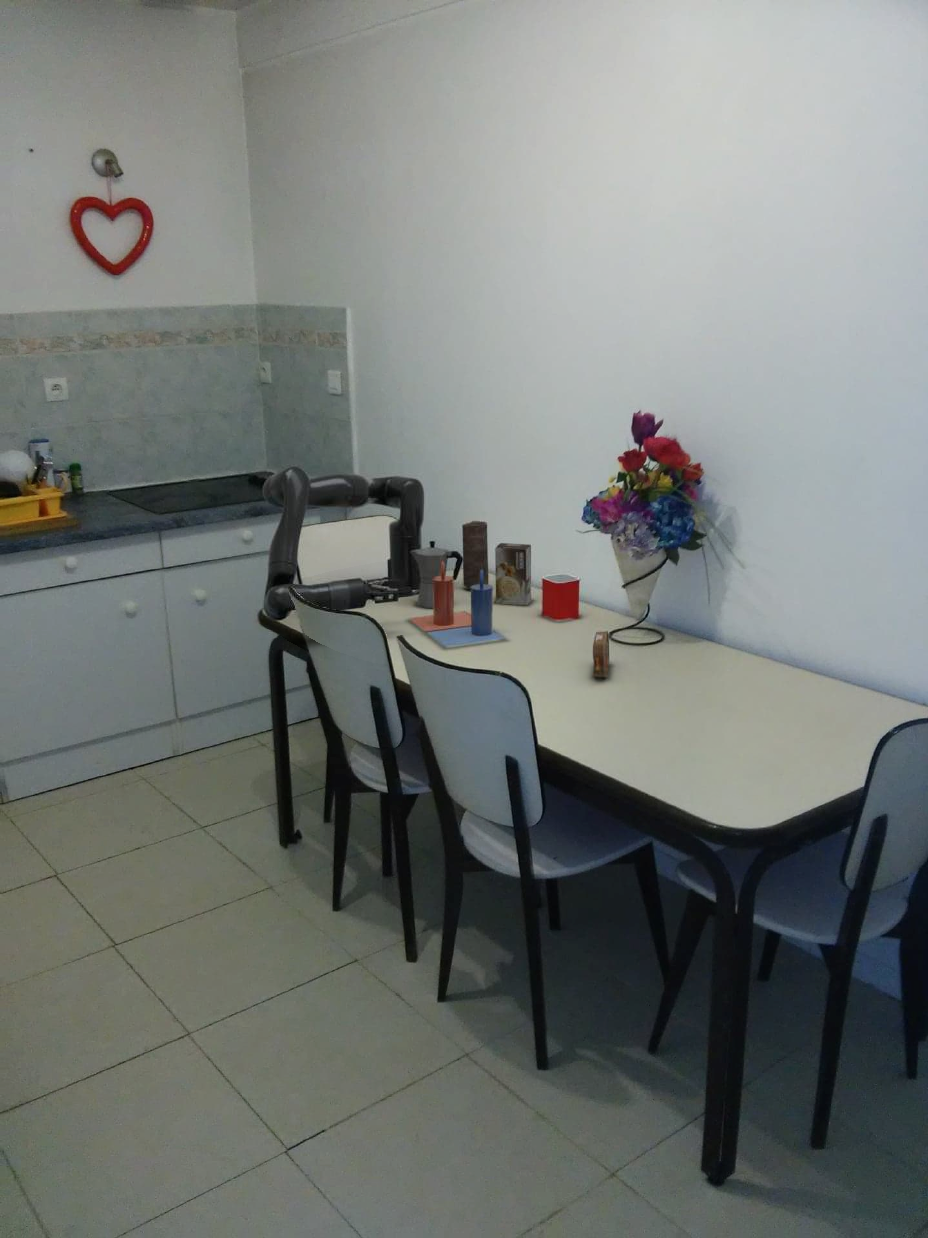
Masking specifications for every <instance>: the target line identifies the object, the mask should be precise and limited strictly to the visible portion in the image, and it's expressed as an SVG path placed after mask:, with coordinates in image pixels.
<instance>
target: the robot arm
mask: <svg viewBox="0 0 928 1238" xmlns="http://www.w3.org/2000/svg"><path fill="white" fill-rule="evenodd" d="M262 496H263V498H264V500H265V501H266V502H267V503H268V504H269V505H271V506H272V507H274V508H276V509H279V510H280V509H281V510H282V513H281V517H280V520H279V522H278V524H277V527H276V529H275V532H274V535H273V536H272V538H271V542H270V546H269V551H268V560H267V580H266V584H265V590H264V595H263V606H262V607H263V612H264V613H265V615H266V616H267V617H268V618H269V619H270V620H272V621H275V622H279V621H284V620H286V619H287V618H288V617H289V616H290V615H291V613H292V611H297V610H296V609H295V605H294V603H293V601H292V600H291V596H290V594H289V589H288V587H289V586H292V587H293V588H294V589H295V590H296V592H297V593H298V594H300V596H302V597H303V598H304V599H305V600H306V601H309V603H313V604H315V605H318V606H320V607H326V608H329V609H336V610H341V611H348V610H356V609H363V608H366V606H367V602H368V601H372V602H374V604H376V605H377V604H386V603H387V604H388V603H397V602H399V599H400V598H409V597H412V596H413V595H416V594H419V591H420V583H421V576H420V572H419V566H418V563H417V561H416V560H415V558H414V556H413V555H412V554H411V553H410V552H411V551H412V550H417V549H423V546H422V545H423V544H422V543H423V541H422V539H423V538H422V527H423V524H424V521H425V520H424V519H425V488H424V485H423V484H422V482H421V481H420V480H419V479H417V478H414V477H409V476H402V475H401V476H400V475H391V476H383V477H369V476H366V475H363V474H357V473H332V474H326V475H322V476H317V477H312V478H310V475H308V473H307V472H306V470H304V469H303V468H302V467H300V466H297V465H291V466H288V467H285V468H283V469H281V470H279V471H278V472H275V473H273V474H272V475H271V476H269V477H268V478H267V479H266V480H265V481H264V484H263V486H262ZM367 505H376V506H383V507H389V508H392V509H396V510H397V509H398V510H399V518H398V519H397V520H393V521H392V522H390V523H389V524H388V535H389V536H388V537H389V558H388V559H387V562H386V563H387V576H384V577H382V578H371V579H365V580H363V579H362V578H361V577H355V578H347V579H346V578H345V579H338V580H333V581H328V582H321V583H313V584H301V583H294V582H295V580H296V576H297V569H298V559H299V558H298V556H299V546H300V539H301V533H302V529H303V525H304V520H305V516H306V512H307V507H313V508H314V507H317V508H337V509H359V508H362V507H366V506H367Z"/></svg>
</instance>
